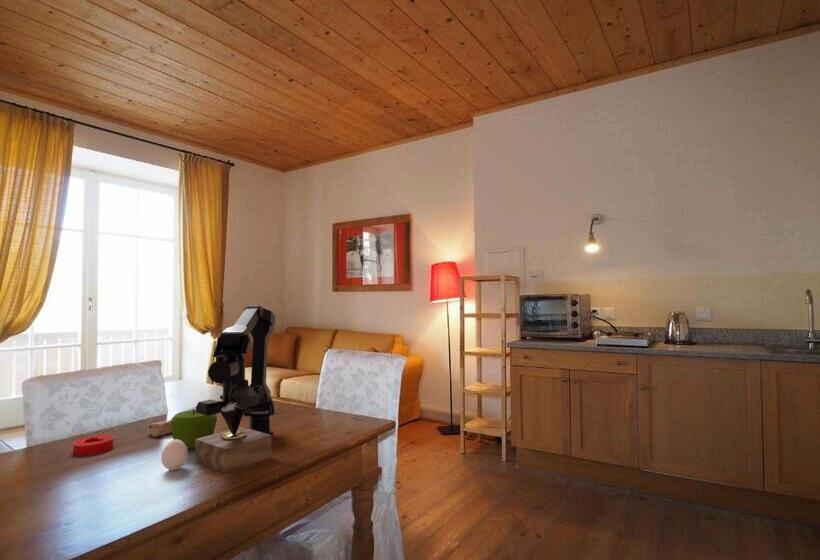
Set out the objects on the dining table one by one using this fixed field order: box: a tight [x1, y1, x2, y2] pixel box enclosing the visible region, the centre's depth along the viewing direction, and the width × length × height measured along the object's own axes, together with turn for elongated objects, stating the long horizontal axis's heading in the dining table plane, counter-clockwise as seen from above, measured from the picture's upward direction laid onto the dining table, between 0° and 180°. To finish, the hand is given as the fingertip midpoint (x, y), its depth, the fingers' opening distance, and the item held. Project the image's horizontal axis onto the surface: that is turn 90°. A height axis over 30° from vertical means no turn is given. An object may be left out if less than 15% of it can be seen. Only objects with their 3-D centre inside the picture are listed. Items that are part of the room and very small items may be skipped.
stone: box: [147, 419, 172, 438], centre depth 148 cm, size 8×10×4 cm
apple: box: [170, 408, 218, 452], centre depth 134 cm, size 12×12×11 cm
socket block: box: [194, 426, 272, 474], centre depth 123 cm, size 14×14×6 cm
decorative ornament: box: [72, 434, 114, 456], centre depth 133 cm, size 10×10×3 cm
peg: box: [222, 431, 245, 441], centre depth 123 cm, size 6×6×6 cm
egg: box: [160, 439, 189, 471], centre depth 116 cm, size 6×6×8 cm
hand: (233, 433), depth 123 cm, fingers closed
